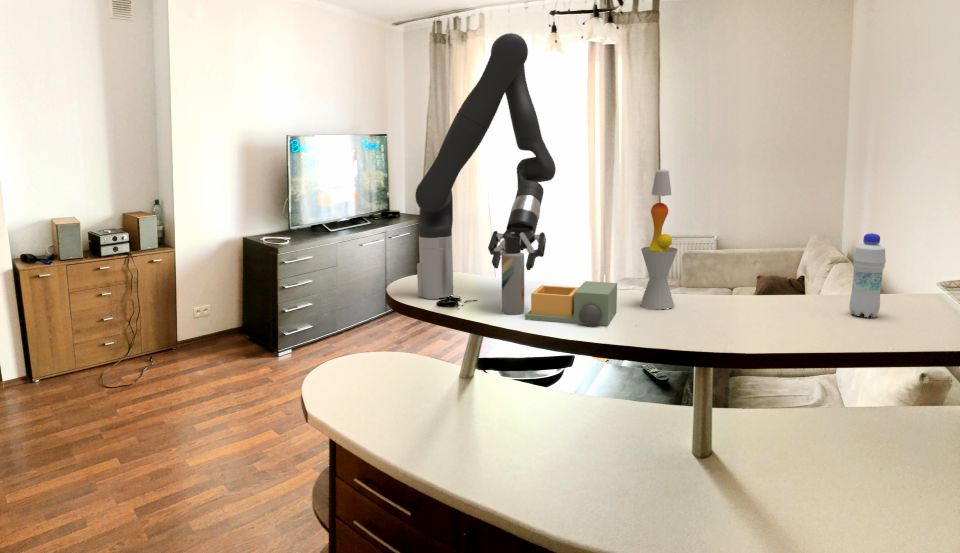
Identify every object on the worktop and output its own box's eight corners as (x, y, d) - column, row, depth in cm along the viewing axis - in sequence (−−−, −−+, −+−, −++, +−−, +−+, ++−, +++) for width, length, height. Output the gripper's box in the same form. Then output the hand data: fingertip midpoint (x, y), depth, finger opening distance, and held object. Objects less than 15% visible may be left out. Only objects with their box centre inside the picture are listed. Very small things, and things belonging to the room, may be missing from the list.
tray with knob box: (523, 321, 158) (523, 290, 157) (540, 305, 173) (541, 277, 171) (606, 327, 151) (607, 295, 150) (617, 310, 166) (618, 281, 165)
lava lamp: (632, 306, 171) (636, 170, 164) (650, 299, 177) (655, 168, 170) (663, 311, 165) (669, 171, 158) (681, 305, 171) (687, 169, 164)
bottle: (874, 312, 160) (883, 231, 156) (883, 319, 154) (892, 235, 150) (844, 311, 162) (852, 231, 158) (851, 318, 156) (860, 235, 152)
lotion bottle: (523, 309, 170) (522, 232, 166) (525, 314, 164) (525, 235, 160) (501, 309, 169) (500, 232, 165) (502, 315, 164) (502, 236, 160)
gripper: (495, 207, 171) (480, 257, 163) (548, 208, 166) (536, 260, 158) (501, 224, 177) (488, 274, 169) (553, 226, 172) (542, 277, 164)
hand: (511, 267), depth 163 cm, fingers open, 8 cm apart
